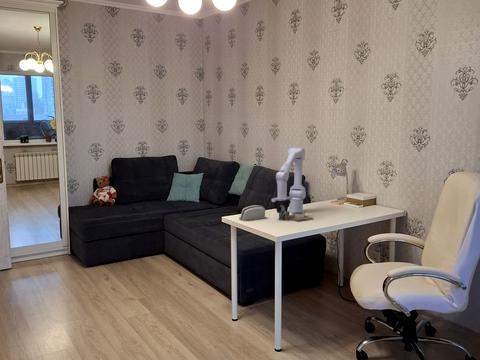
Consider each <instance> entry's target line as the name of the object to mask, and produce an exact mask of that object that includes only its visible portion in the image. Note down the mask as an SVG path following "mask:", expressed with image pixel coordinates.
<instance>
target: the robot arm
mask: <svg viewBox="0 0 480 360" xmlns="http://www.w3.org/2000/svg"><path fill="white" fill-rule="evenodd" d="M287 155H288V156H287V159H286V162H284V163H283V164H282V166H281V168H280V170H279V171H278V172H276V174H275V180H276V184H277V197H274V198H271V202H272V203H273V204H274V207H275V209H276V213H277V214H279V213H280V206H282V202H283V206H285V211H288V212H289V213H293V212H304V213H306V211H304V200H305V198H306V193H307V192H306V187H304V186H303V184H302V182H303V180H302V179H303V161H304V160H305V158H306V150H305V148H304V147H291V146H290V147H288V149H287ZM293 163H294V176H293V177H294V179H293V185H292V186H290V190H289V196H288V195H287V194H288V192H287V191H288V190H287V189H288V187H287V186H288V180H289V176H290V171H291V170H292V164H293ZM288 209H289V210H288Z"/></svg>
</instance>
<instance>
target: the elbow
mask: <svg viewBox="0 0 480 360" xmlns="http://www.w3.org/2000/svg"><path fill="white" fill-rule="evenodd" d="M290 213H291V212H289V210H287V211H285V206H284V205H280V213H278V220H279V221H285V220H286V218H285V216H289V215H291V214H290Z"/></svg>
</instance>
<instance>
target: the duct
mask: <svg viewBox="0 0 480 360" xmlns="http://www.w3.org/2000/svg"><path fill="white" fill-rule="evenodd" d="M291 213H292V214H289V216H285V219H287V220H290V221H293V222H298V223H300V222H306V221H312V220H314V217H312V216H307V215H306V212H291Z"/></svg>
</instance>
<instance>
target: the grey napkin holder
mask: <svg viewBox="0 0 480 360" xmlns="http://www.w3.org/2000/svg"><path fill="white" fill-rule="evenodd" d="M265 218H266V209H265V207H264V206H263V205H258V204H257V205H249V206H246V207H244V208H242V211H241V214H240V216H239V219H240V220H241V221H242V222H245V221H244V220H246V221H253V220H258V219H265ZM239 219H238V220H239ZM252 219H253V220H252Z"/></svg>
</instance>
